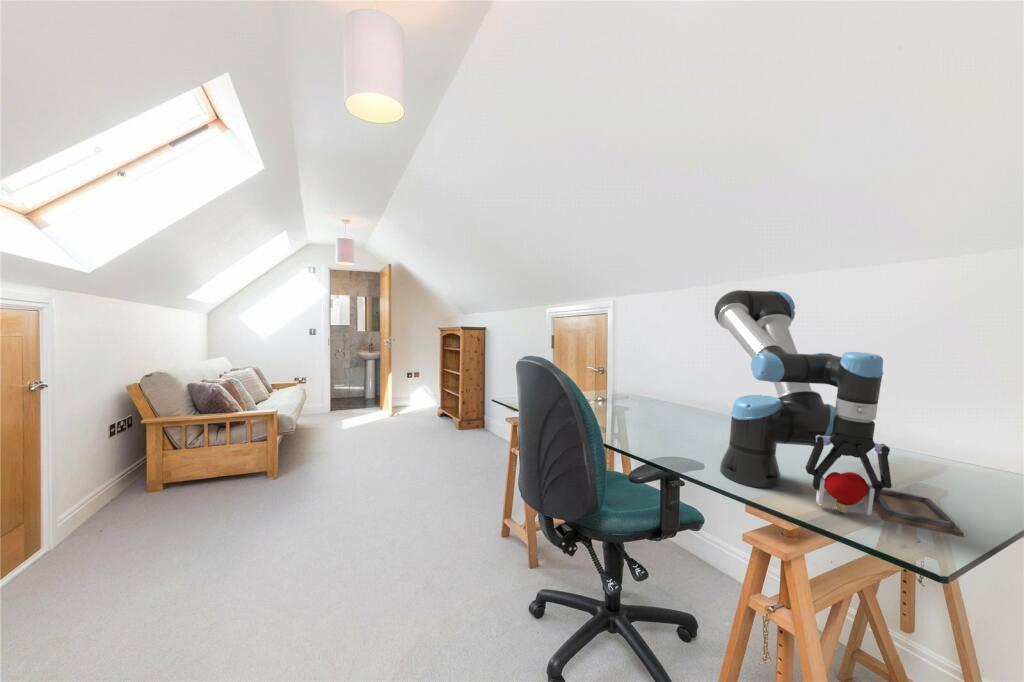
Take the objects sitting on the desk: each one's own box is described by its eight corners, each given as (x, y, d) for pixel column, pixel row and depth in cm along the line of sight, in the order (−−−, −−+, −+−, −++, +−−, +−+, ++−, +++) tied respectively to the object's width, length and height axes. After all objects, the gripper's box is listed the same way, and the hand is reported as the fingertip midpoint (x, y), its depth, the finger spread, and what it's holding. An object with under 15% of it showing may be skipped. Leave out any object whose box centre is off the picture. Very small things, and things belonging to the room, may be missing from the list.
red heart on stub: (848, 505, 103) (853, 467, 102) (873, 520, 97) (879, 480, 95) (812, 505, 103) (817, 467, 102) (834, 520, 96) (840, 480, 95)
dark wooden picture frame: (882, 519, 97) (883, 511, 97) (861, 490, 111) (862, 483, 111) (963, 536, 91) (965, 528, 91) (930, 503, 105) (931, 496, 105)
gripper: (802, 414, 98) (792, 503, 101) (922, 430, 89) (906, 527, 92) (797, 407, 105) (787, 490, 108) (907, 420, 95) (894, 511, 98)
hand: (842, 507), depth 100 cm, fingers closed on red heart on stub, 9 cm apart
